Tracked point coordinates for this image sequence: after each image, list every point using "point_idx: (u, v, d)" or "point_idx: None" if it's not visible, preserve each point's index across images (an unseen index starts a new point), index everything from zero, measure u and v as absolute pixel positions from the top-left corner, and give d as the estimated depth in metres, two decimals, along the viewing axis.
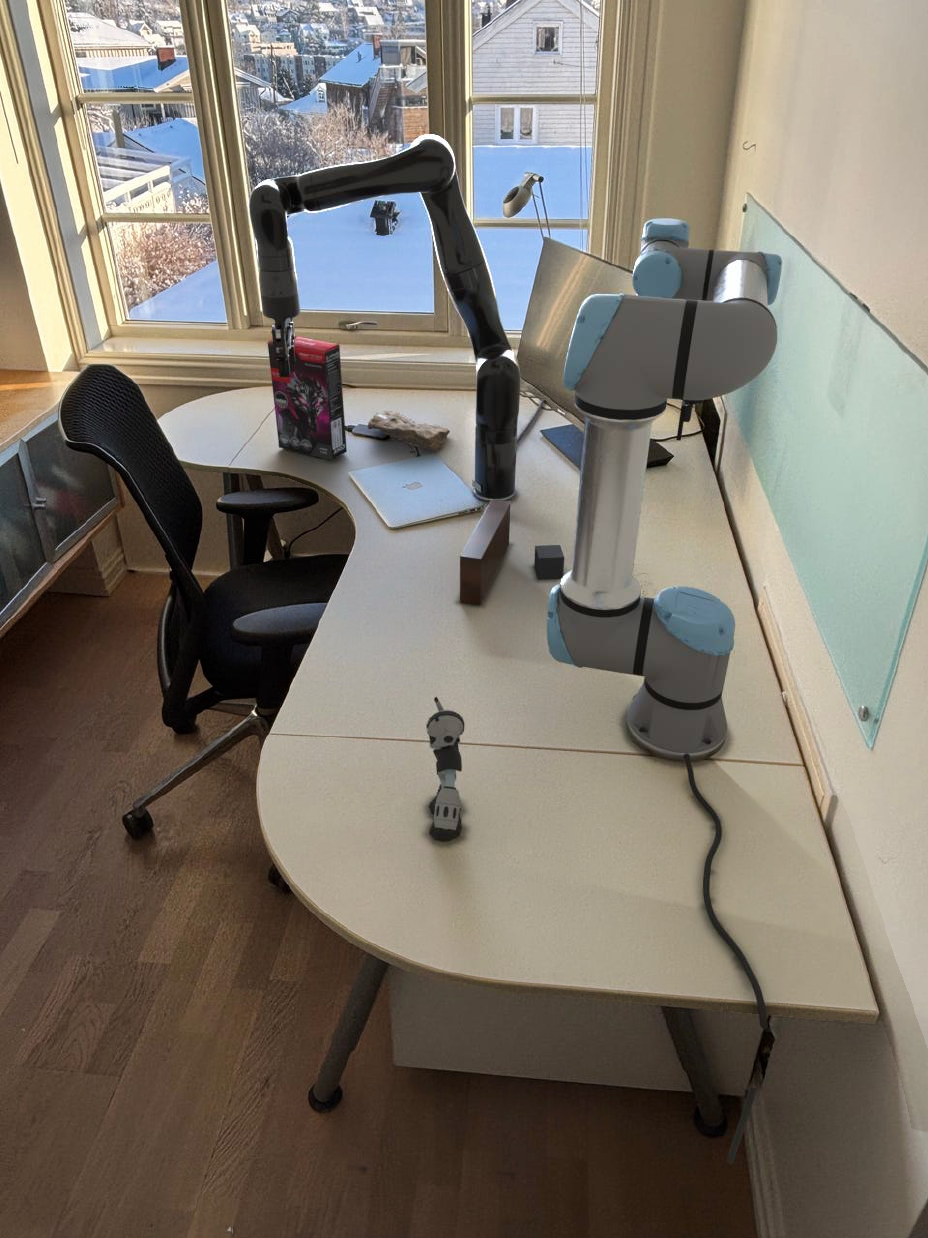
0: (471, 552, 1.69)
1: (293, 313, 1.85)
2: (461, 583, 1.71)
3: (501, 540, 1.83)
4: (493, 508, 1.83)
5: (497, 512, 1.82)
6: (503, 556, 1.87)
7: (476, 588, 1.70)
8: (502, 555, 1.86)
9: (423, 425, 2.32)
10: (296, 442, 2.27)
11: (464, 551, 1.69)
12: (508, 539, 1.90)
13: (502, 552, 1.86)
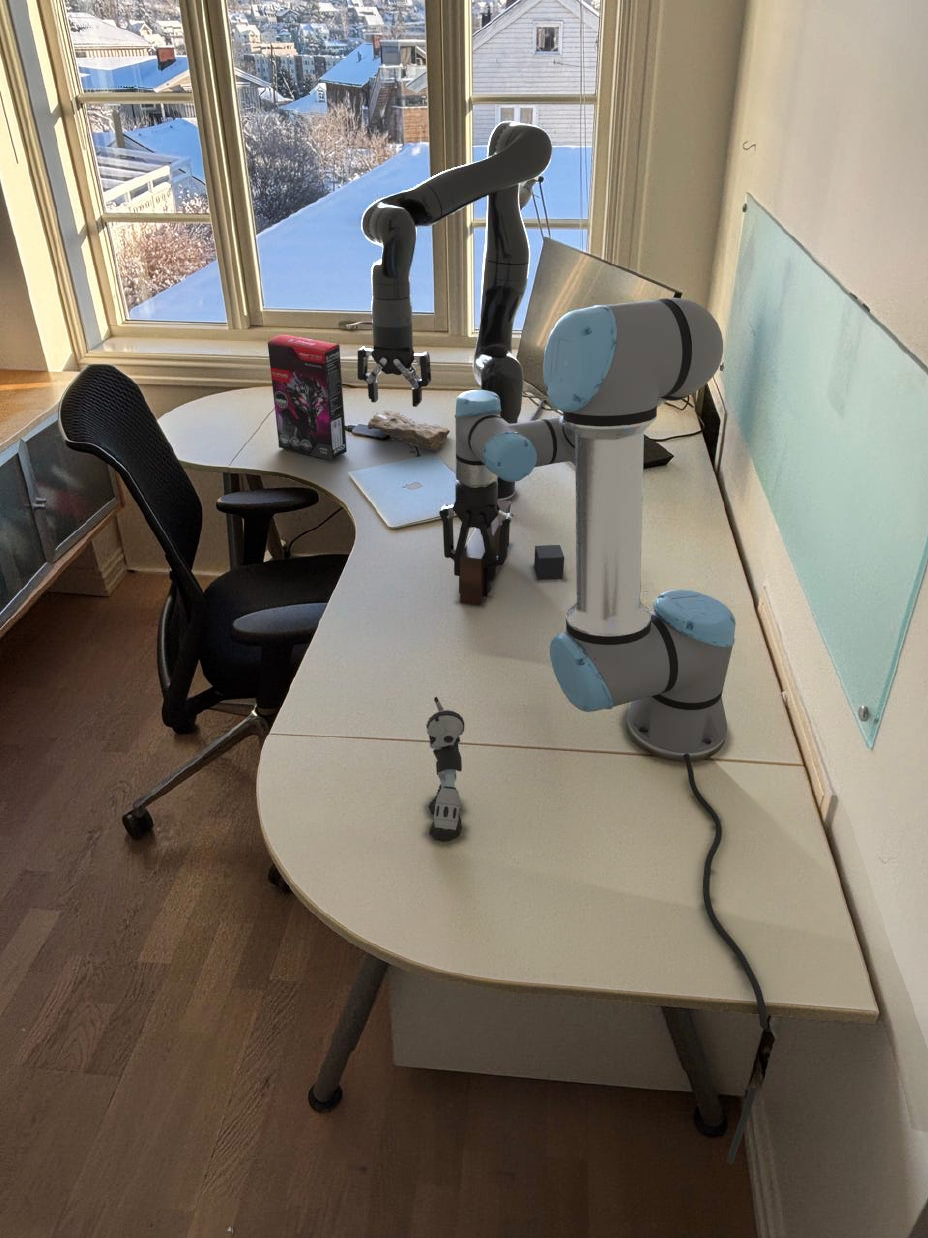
0: (471, 552, 1.69)
1: None
2: (461, 583, 1.71)
3: None
4: None
5: None
6: None
7: (476, 588, 1.70)
8: None
9: (423, 425, 2.32)
10: (296, 442, 2.27)
11: (464, 551, 1.69)
12: (508, 539, 1.90)
13: None
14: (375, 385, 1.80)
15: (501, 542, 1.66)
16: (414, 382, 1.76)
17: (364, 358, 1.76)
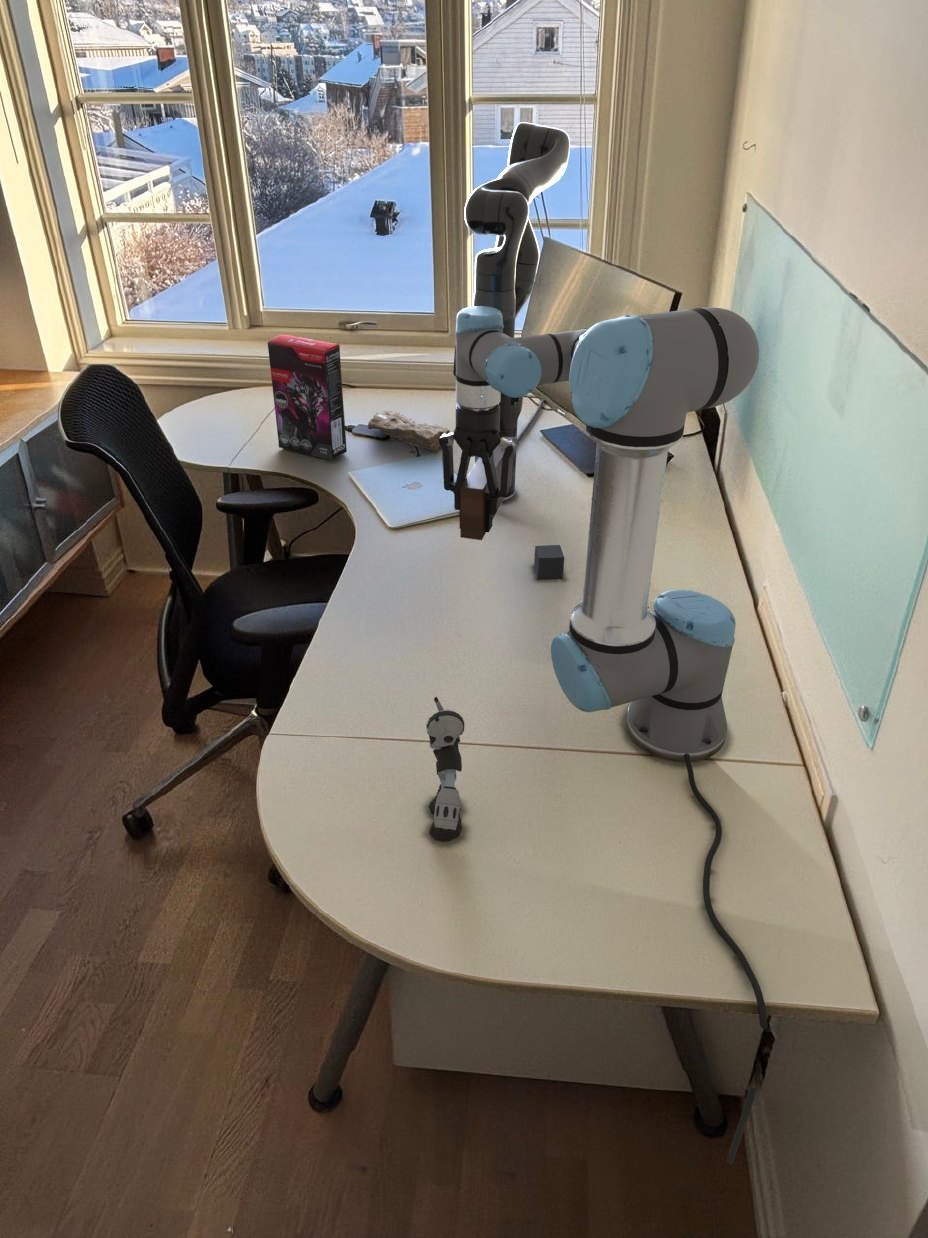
0: (472, 482, 1.61)
1: None
2: (462, 516, 1.63)
3: None
4: None
5: (499, 447, 1.74)
6: None
7: (477, 521, 1.63)
8: None
9: (423, 425, 2.32)
10: (296, 442, 2.27)
11: (465, 482, 1.61)
12: (511, 478, 1.82)
13: None
14: None
15: (504, 472, 1.59)
16: None
17: None
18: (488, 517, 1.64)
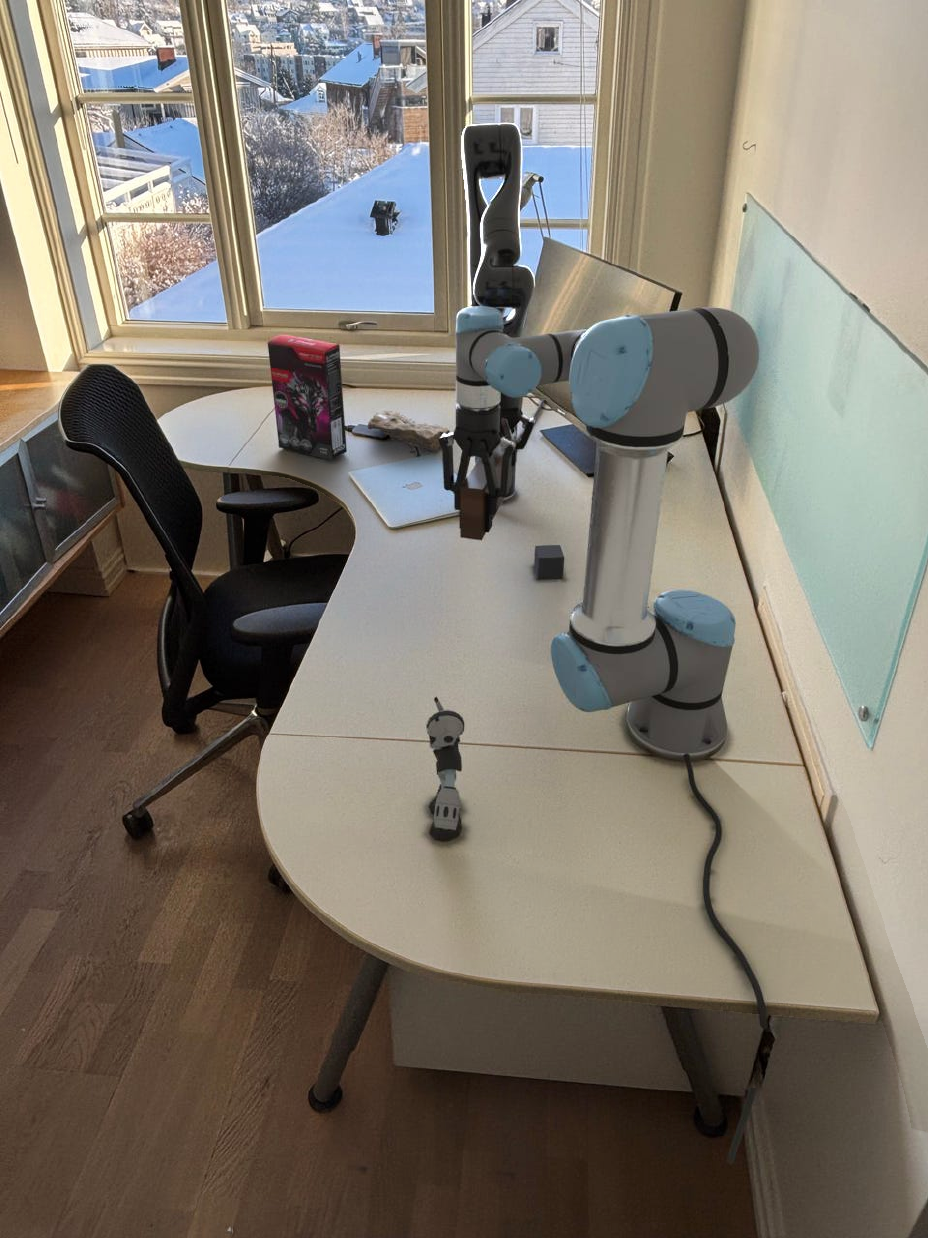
0: (472, 483, 1.61)
1: None
2: (462, 516, 1.63)
3: None
4: None
5: (499, 447, 1.74)
6: None
7: (477, 521, 1.63)
8: None
9: (423, 425, 2.32)
10: (296, 442, 2.27)
11: (465, 482, 1.61)
12: (511, 478, 1.82)
13: None
14: None
15: (504, 472, 1.59)
16: None
17: None
18: (488, 517, 1.64)
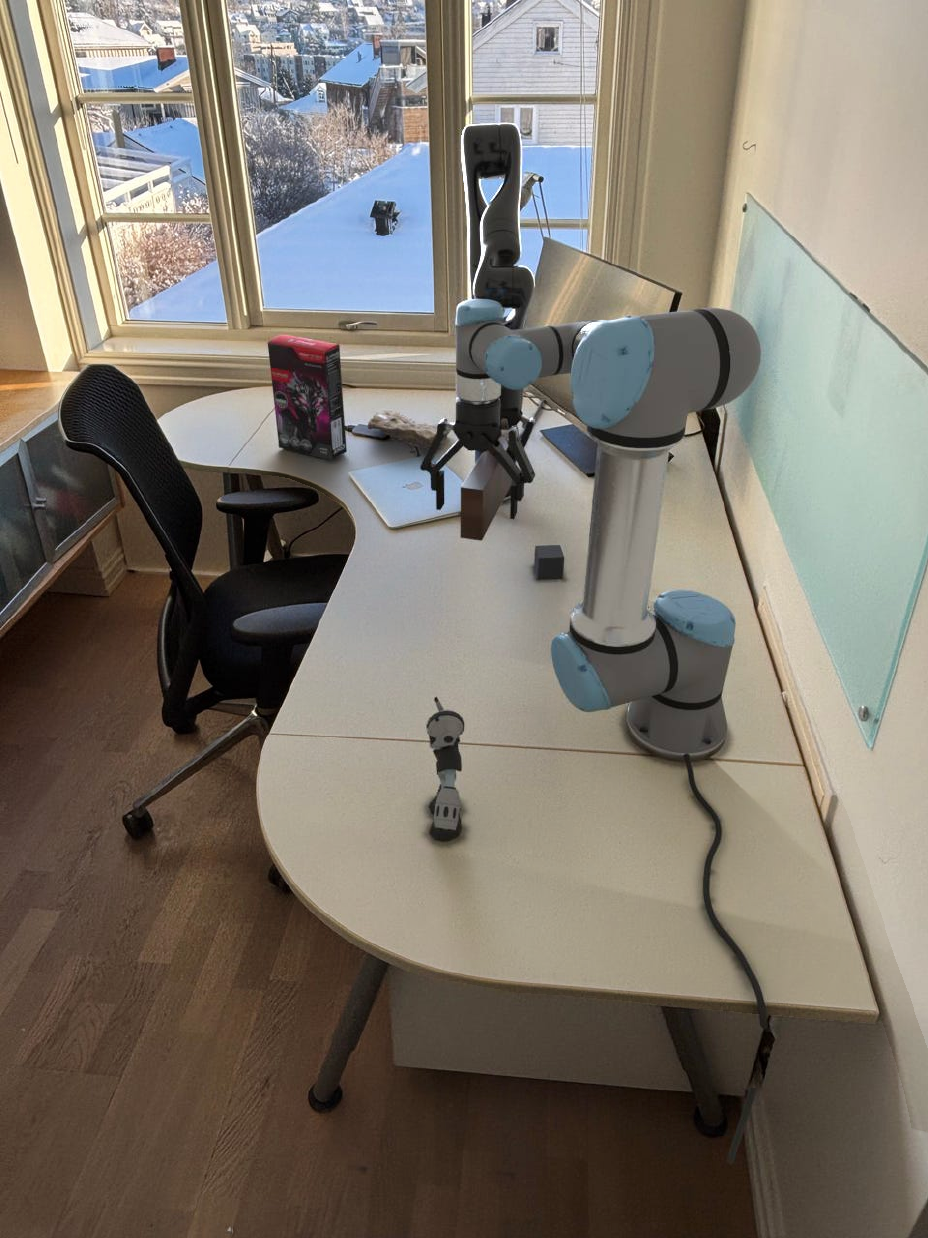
0: (473, 483, 1.61)
1: None
2: (462, 517, 1.63)
3: (503, 476, 1.75)
4: None
5: None
6: (505, 494, 1.80)
7: (478, 521, 1.63)
8: (504, 493, 1.79)
9: (423, 425, 2.32)
10: (296, 442, 2.27)
11: (465, 483, 1.61)
12: (511, 478, 1.82)
13: (504, 490, 1.78)
14: None
15: (518, 458, 1.57)
16: None
17: None
18: (513, 504, 1.61)
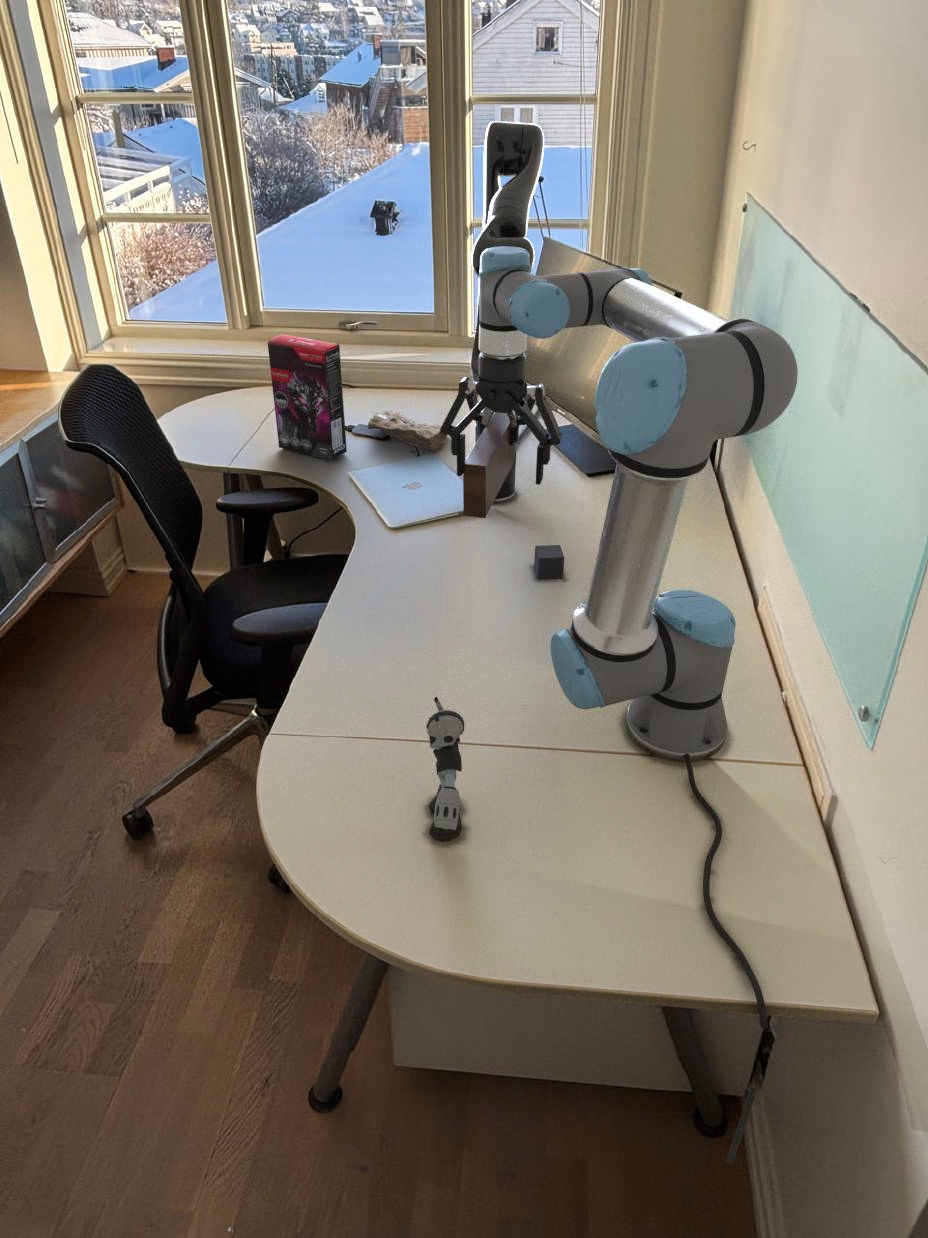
0: (475, 459, 1.59)
1: None
2: (465, 494, 1.61)
3: (506, 453, 1.72)
4: (496, 420, 1.73)
5: (501, 423, 1.72)
6: (508, 472, 1.77)
7: (481, 499, 1.60)
8: (507, 471, 1.76)
9: (423, 425, 2.32)
10: (296, 442, 2.27)
11: (467, 459, 1.59)
12: (513, 455, 1.80)
13: (507, 467, 1.75)
14: None
15: (545, 418, 1.48)
16: (512, 421, 1.72)
17: (473, 398, 1.71)
18: (539, 467, 1.53)
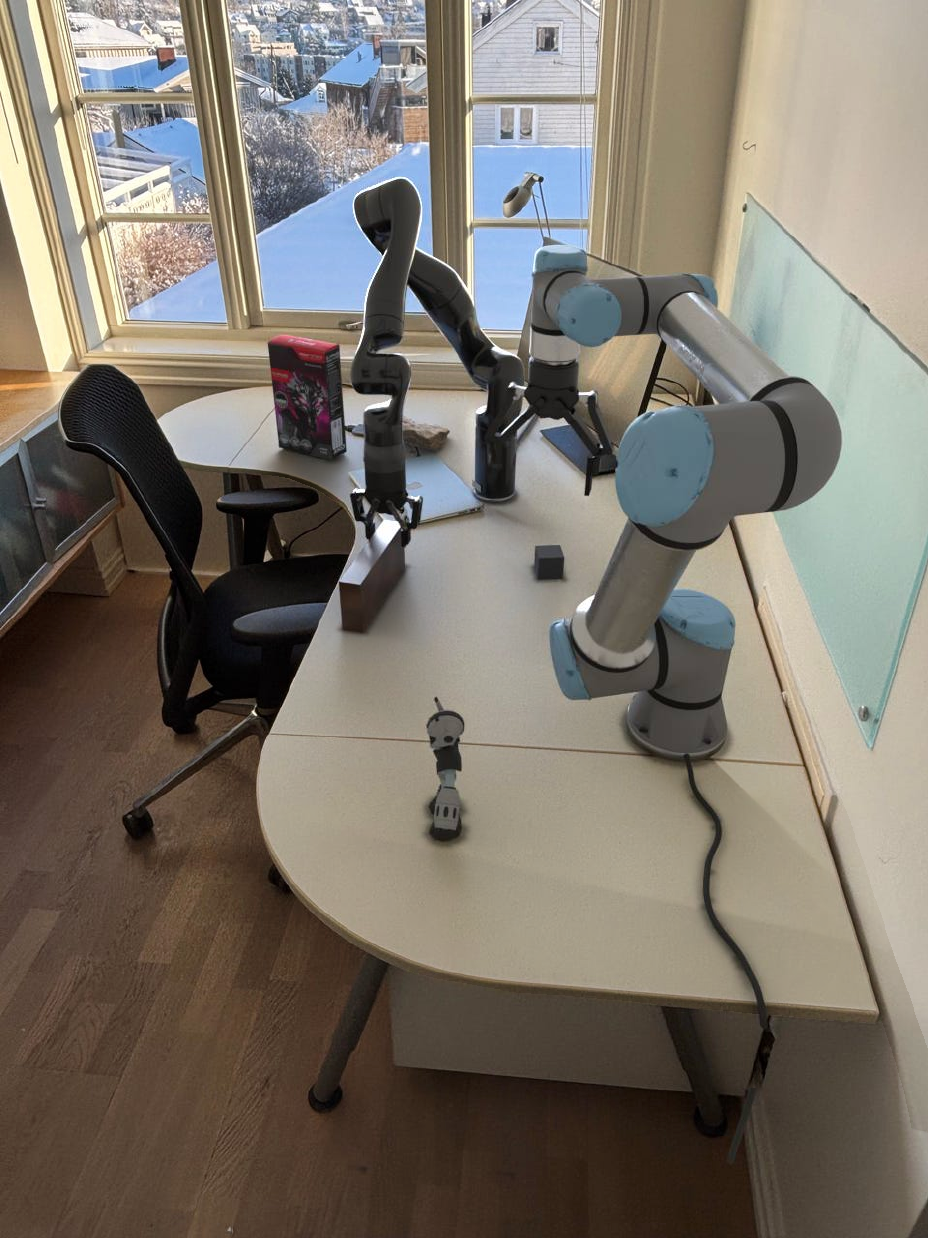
0: (351, 577, 1.61)
1: None
2: (342, 609, 1.63)
3: (392, 563, 1.75)
4: (383, 530, 1.76)
5: (387, 533, 1.74)
6: None
7: (358, 614, 1.63)
8: (395, 578, 1.79)
9: (423, 425, 2.32)
10: (296, 442, 2.27)
11: (344, 576, 1.61)
12: (403, 561, 1.82)
13: (394, 575, 1.78)
14: (372, 526, 1.76)
15: (597, 427, 1.40)
16: (403, 525, 1.73)
17: (357, 501, 1.73)
18: (589, 478, 1.45)
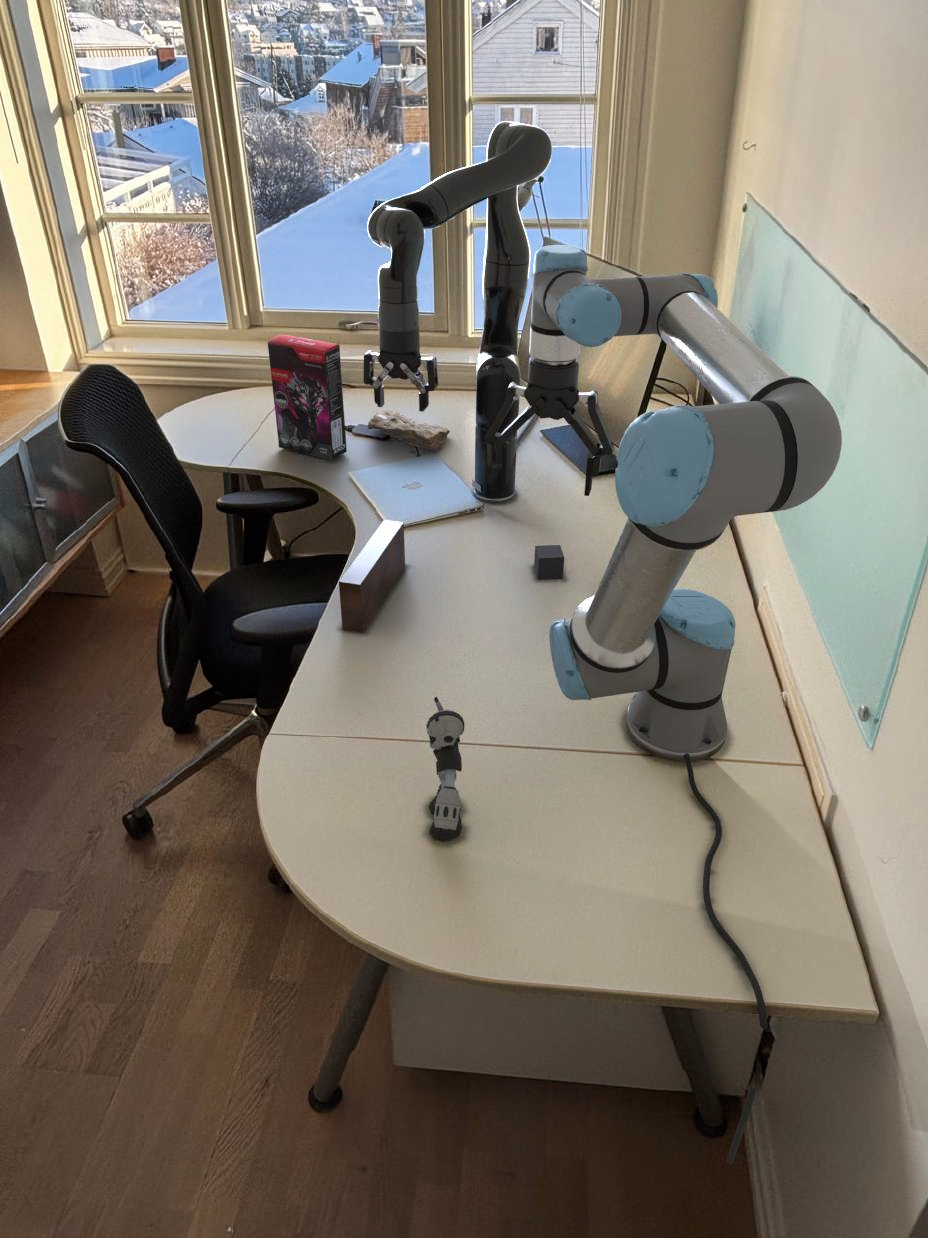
0: (351, 577, 1.61)
1: None
2: (342, 609, 1.63)
3: (392, 563, 1.75)
4: (383, 530, 1.76)
5: (387, 533, 1.74)
6: None
7: (358, 614, 1.63)
8: (395, 578, 1.79)
9: (423, 425, 2.32)
10: (296, 442, 2.27)
11: (344, 576, 1.61)
12: (403, 561, 1.82)
13: (394, 575, 1.78)
14: (381, 389, 1.78)
15: (597, 427, 1.40)
16: (421, 387, 1.74)
17: (370, 363, 1.74)
18: (589, 478, 1.45)
